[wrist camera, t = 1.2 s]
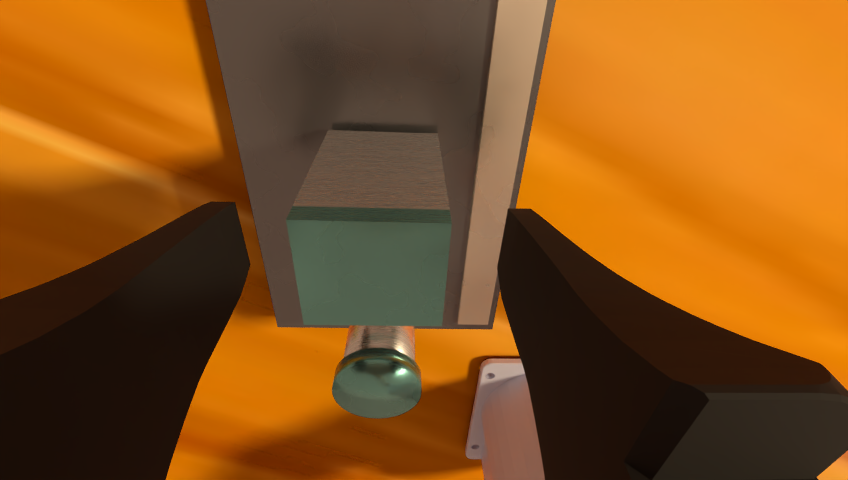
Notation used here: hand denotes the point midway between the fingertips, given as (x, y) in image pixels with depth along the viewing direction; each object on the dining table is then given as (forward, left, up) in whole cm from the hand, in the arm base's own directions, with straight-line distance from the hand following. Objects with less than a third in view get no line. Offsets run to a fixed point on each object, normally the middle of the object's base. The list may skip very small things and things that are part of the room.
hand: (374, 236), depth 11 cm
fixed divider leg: (-5, 0, -5) cm, 7 cm away
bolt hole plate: (+1, 0, -5) cm, 5 cm away
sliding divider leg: (0, 0, -4) cm, 4 cm away
